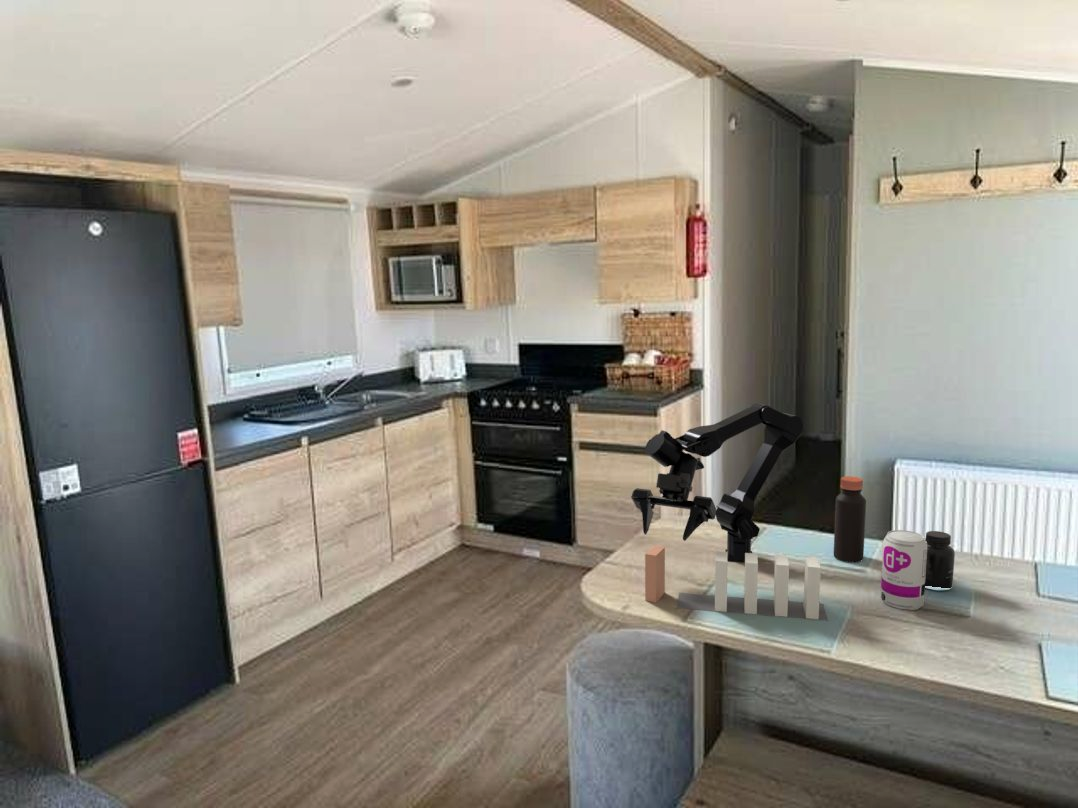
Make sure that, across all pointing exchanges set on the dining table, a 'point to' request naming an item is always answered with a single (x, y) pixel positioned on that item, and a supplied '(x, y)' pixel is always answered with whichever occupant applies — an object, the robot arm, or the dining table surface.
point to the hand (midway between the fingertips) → (664, 536)
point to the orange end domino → (654, 573)
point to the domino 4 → (811, 587)
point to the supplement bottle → (939, 560)
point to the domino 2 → (750, 583)
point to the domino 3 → (781, 585)
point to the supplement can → (903, 569)
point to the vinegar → (850, 521)
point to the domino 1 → (721, 581)
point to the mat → (737, 606)
